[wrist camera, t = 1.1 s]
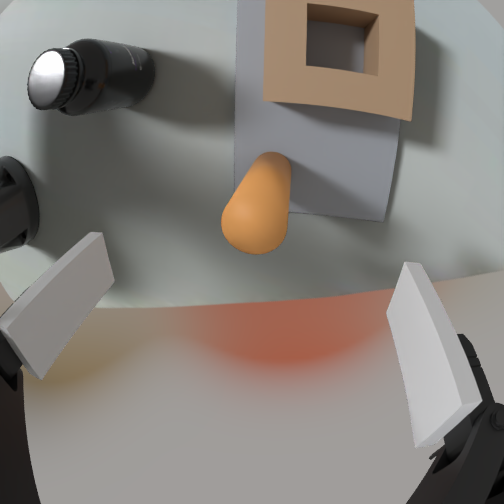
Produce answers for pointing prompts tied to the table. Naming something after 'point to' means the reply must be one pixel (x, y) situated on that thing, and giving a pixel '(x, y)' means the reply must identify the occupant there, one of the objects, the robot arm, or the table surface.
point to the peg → (259, 206)
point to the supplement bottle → (90, 77)
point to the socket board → (310, 131)
